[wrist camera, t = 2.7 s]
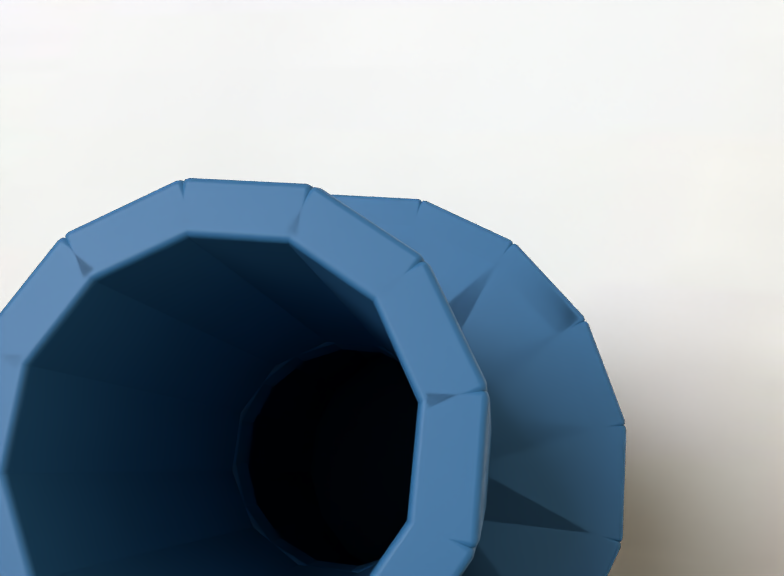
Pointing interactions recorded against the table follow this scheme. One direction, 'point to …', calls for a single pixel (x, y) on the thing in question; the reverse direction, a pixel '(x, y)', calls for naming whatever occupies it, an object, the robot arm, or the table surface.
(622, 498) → the bottle
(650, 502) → the table surface
